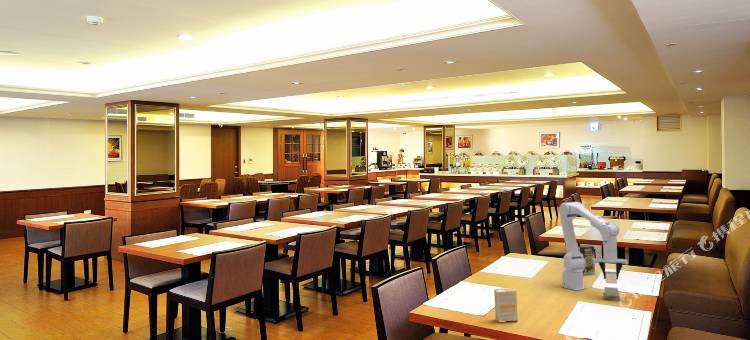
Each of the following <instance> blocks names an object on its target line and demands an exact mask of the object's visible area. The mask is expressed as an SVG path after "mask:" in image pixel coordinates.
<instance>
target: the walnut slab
mask: <svg viewBox="0 0 750 340" xmlns="http://www.w3.org/2000/svg"><path fill="white" fill-rule="evenodd" d="M602 294H603V300H604V301H608V302H620V300H621V299H620V298H621V296H620V294H619V292H618V296H606V295H605V291H604V292H602Z"/></svg>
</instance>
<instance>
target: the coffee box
mask: <svg viewBox="0 0 750 340" xmlns="http://www.w3.org/2000/svg"><path fill="white" fill-rule="evenodd" d="M577 247H578V251H579V252H580V253H581V254H583V258H584V260H585V262H586V267H585V268H584V271H583V275H585V276H590V275H589V274H595V275H596V263H594V262H593V258H595V246H593V245H589V244H586V245H585V244H584V245H577Z"/></svg>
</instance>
